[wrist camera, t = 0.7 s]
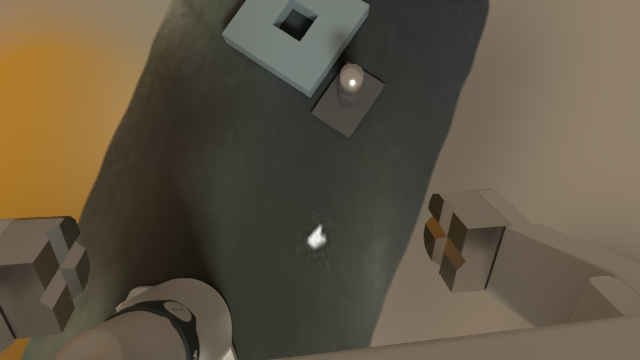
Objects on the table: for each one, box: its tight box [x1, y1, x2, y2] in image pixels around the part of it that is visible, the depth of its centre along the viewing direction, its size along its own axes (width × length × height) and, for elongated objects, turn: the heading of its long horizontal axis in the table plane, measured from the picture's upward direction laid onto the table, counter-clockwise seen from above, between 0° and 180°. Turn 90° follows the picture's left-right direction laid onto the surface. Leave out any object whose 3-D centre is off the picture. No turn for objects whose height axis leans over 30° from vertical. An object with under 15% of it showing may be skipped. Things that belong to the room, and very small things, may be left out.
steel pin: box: [339, 64, 364, 108], centre depth 56 cm, size 3×3×10 cm
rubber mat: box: [311, 61, 385, 138], centre depth 61 cm, size 10×7×1 cm
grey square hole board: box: [222, 0, 370, 98], centre depth 61 cm, size 16×16×3 cm
